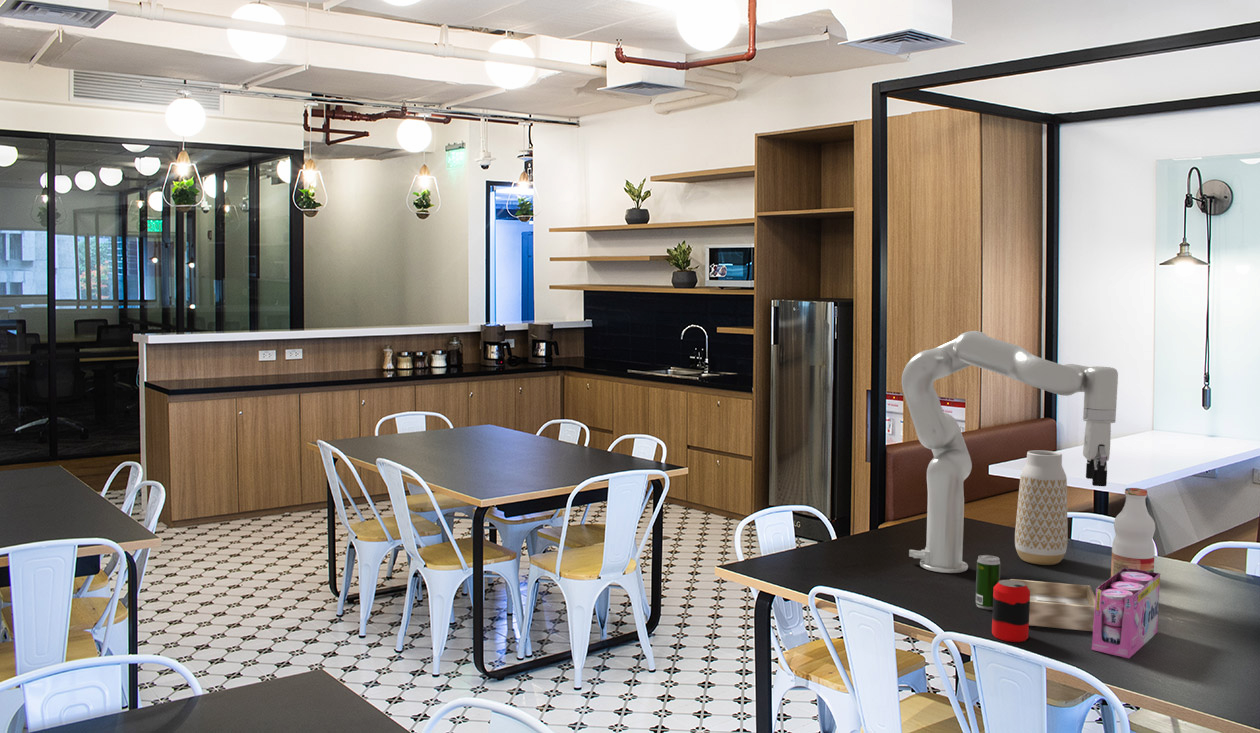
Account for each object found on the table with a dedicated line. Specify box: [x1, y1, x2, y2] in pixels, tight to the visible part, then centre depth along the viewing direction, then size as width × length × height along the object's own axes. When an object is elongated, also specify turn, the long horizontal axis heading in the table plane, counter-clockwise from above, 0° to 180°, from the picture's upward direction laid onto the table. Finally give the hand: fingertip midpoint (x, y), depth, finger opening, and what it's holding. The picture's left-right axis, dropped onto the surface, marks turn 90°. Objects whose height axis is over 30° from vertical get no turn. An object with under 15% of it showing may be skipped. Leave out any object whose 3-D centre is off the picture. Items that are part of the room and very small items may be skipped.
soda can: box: [991, 579, 1030, 643], centre depth 230 cm, size 8×8×12 cm
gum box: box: [1091, 568, 1161, 659], centre depth 227 cm, size 24×8×14 cm, turn 140°
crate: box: [1009, 578, 1096, 632], centre depth 245 cm, size 18×18×6 cm
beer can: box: [974, 554, 1001, 611], centre depth 251 cm, size 5×5×12 cm
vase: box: [1014, 449, 1069, 566], centre depth 292 cm, size 14×14×31 cm
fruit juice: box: [1110, 487, 1156, 578], centre depth 255 cm, size 9×9×28 cm
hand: (1095, 482), depth 265 cm, fingers open, 9 cm apart
